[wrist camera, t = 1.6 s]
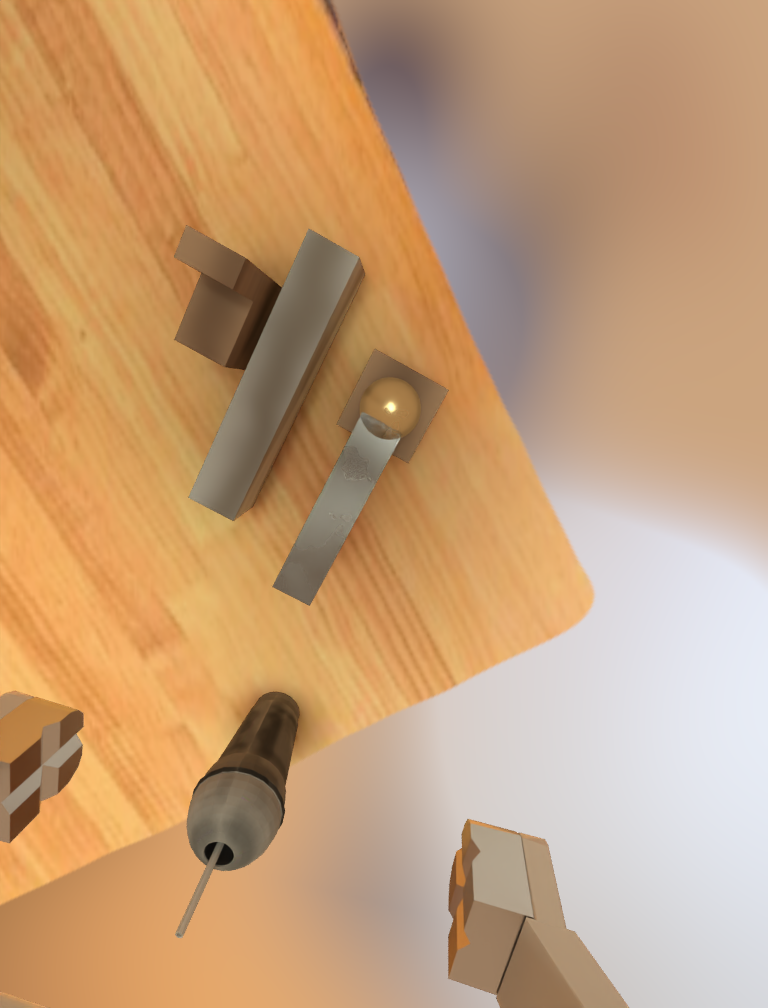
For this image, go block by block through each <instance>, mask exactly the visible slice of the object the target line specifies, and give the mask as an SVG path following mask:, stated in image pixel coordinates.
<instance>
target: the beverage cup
mask: <svg viewBox="0 0 768 1008" xmlns="http://www.w3.org/2000/svg"><path fill="white" fill-rule="evenodd" d="M298 718H299V708H298V706H297V704H296V702H295V701H294V700H293V699H292V698H291V697H290V696H288V695H286V694H284V693H280V692H270V693H267V694H265V695H263V696H262V697H261V698H259V700H258V701H257V703H256V704H255V706H254V707H253V708H252V709H251V711H250V712H249V714H248V715H247V717H246V718H245V720H244V721H243V723H242V725H241V726H240V728H239V729H238V731H237V732H236V734H235V735H234V737H233V738H232V740H231V741H230V743H229V745H228V746H227V748H226V749H225V751H224V752H223V754H222V755H221V757H220V758H219V760H218V761H217V762H216V763H215V764H214V765H213V766H212V767H211V768H210V769H209V771H208V772H207V773H206V775H205V776H204V777H203V778H202V779H200V781H199V782H198V784H197V786H196V787H195V789H194V791H193V796H192V800H191V802H190V806H189V811H188V818H187V833H188V838H189V843H190V845H191V848H192V850H193V851H194V853H195V855H196V856H197V857H198V858H199V860H201V861H202V862H203V863H204V864H205V865H207V866H206V868H205V870H204V873H203V875H202V877H201V879H200V881H199V883H198V886H197V888H196V890H195V892H194V895H193V897H192V899H191V901H190V903H189V905H188V907H187V910H186V912H185V914H184V916H183V918H182V921H181V923H180V925H179V927H178V929H177V931H176V934H175V935H176V936H177V937H178V938H182V937H183V935H184V933H185V931H186V929H187V926H188V924H189V922H190V920H191V917H192V915H193V913H194V911H195V908H196V906H197V904H198V902H199V900H200V897H201V895H202V893H203V891H204V888H205V886H206V884H207V882H208V879H209V877H210V875H211V873H212V870H213V869H217V870H221V871H231V870H236V869H239V868H242V867H245V866H247V865H249V864H250V863H251V862H253V861H254V860H256V859H257V858H258V857H259V856H261V855H262V854H263V853H264V851H265V850H266V849H267V848H268V846H269V845H270V843H271V842H272V840H273V839H274V837H275V835H276V834H277V831H278V829H279V828H280V826H281V825H282V823H283V818H284V814H285V808H284V804H285V794H286V789H285V785H286V780H287V775H288V770H289V766H290V761H291V756H292V751H293V746H294V741H295V736H296V732H297V727H298Z"/></svg>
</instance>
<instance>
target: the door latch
mask: <svg viewBox="0 0 768 1008" xmlns="http://www.w3.org/2000/svg"><path fill="white" fill-rule="evenodd" d="M174 257H175V258H177V259H178V260H180V261H182V262H184V263H185V264H187V265H189V266H190V267H192V268H194V269H196V270H197V271H199V272H201V275H200V278H199V280H198V283H197V285H196V288H195V290H194V293H193V295H192V298H191V300H190V302H189V305H188V307H187V310H186V312H185V315H184V317H183V320H182V322H181V325H180V327H179V330H178V332H177V334H176V337H175V339H174V340H176V341H178V342H179V343H181V344H183V345H185V346H187V347H189V348H191V349H192V350H194V351H196V352H198V353H200V354H202V355H203V356H205V357H207V358H209V359H211V360H213V361H215V362H216V363H218V364H220V365H222V366H224V367H228V368H236V369H243V370H245V372H244V374H243V377H242V379H241V381H240V383H239V386H238V388H237V390H236V392H235V394H234V397H233V399H232V401H231V403H230V406H229V408H228V410H227V412H226V415H225V417H224V419H223V421H222V423H221V426H220V428H219V430H218V432H217V435H216V437H215V439H214V441H213V444H212V446H211V448H210V450H209V453H208V455H207V457H206V459H205V461H204V464H203V466H202V468H201V470H200V473H199V475H198V477H197V479H196V482H195V484H194V486H193V488H192V490H191V493H190V495H189V497H188V498H190V499H192V500H194V501H196V502H198V503H200V504H201V505H203V506H205V507H207V508H209V509H211V510H213V511H215V512H217V513H219V514H221V515H223V516H225V517H226V518H228V519H230V520H232V521H234V520H235V519H237V518H238V517H240V516H241V515H242V514H244V513H245V512H246V511H248V510H249V509H250V508H252V507H253V505H254V503H255V501H256V499H257V497H258V495H259V493H260V491H261V489H262V486H263V484H264V482H265V480H266V478H267V476H268V474H269V472H270V470H271V468H272V466H273V464H274V462H275V460H276V458H277V455H278V453H279V451H280V449H281V447H282V445H283V443H284V441H285V439H286V437H287V435H288V433H289V431H290V429H291V427H292V424H293V422H294V420H295V418H296V416H297V414H298V412H299V410H300V408H301V406H302V404H303V402H304V400H305V398H306V396H307V393H308V391H309V389H310V387H311V385H312V383H313V381H314V379H315V377H316V375H317V373H318V371H319V369H320V367H321V365H322V362H323V360H324V358H325V356H326V354H327V352H328V350H329V348H330V346H331V344H332V342H333V340H334V338H335V336H336V334H337V331H338V329H339V327H340V325H341V323H342V321H343V319H344V317H345V315H346V313H347V311H348V309H349V307H350V305H351V303H352V300H353V298H354V296H355V294H356V292H357V290H358V288H359V286H360V284H361V282H362V280H363V278H364V276H365V272H364V269H363V266H362V263H361V261H360V258H359V257H358V256H356V255H354V254H353V253H351V252H349V251H347V250H346V249H344V248H342V247H340V246H339V245H337V244H335V243H333V242H332V241H330V240H328V239H326V238H324V237H323V236H321V235H319V234H317V233H316V232H314V231H312V230H310V229H308V231H307V234H306V236H305V238H304V240H303V243H302V245H301V247H300V249H299V252H298V254H297V256H296V258H295V260H294V263H293V265H292V267H291V269H290V272H289V274H288V276H287V278H286V281H285V283H284V285H283V287H282V288H281V287H280V286H279V285H278V284H277V283H275V282H274V281H273V280H272V279H271V278H269V277H268V276H267V275H266V274H264V273H263V272H262V271H261V270H260V269H258V268H257V267H256V266H255V265H254V264H252V263H251V262H250V261H249V260H248V259H246V258H245V257H243V256H241V255H239V254H238V253H236V252H234V251H232V250H230V249H229V248H227V247H225V246H223V245H221V244H220V243H218V242H216V241H214V240H212V239H211V238H209V237H207V236H205V235H204V234H202V233H200V232H198V231H196V230H195V229H193V228H191V227H189V226H187V225H186V227H185V230H184V232H183V235H182V237H181V240H180V243H179V245H178V248H177V250H176V253H175V255H174ZM388 377H393V378H398V379H401V380H404V381H405V382H407V383H409V384H410V385H411V386H412V387H413V388H414V389H415V391H416V392H417V394H418V396H419V399H420V404H421V413H420V418H419V421H418V423H417V425H416V426H415V428H414V429H413V430H412V431H411V432H410V433H409V434H407V435H406V436H404V437H402V438H400V440H399V442H398V444H397V446H396V447H395V449H394V451H393V453H392V455H394V456H396V457H398V458H399V459H401V460H403V461H405V462H407V463H409V461H410V459H411V458H412V456H413V454H414V452H415V450H416V448H417V447H418V445H419V443H420V441H421V439H422V438H423V436H424V434H425V432H426V430H427V429H428V427H429V425H430V423H431V421H432V420H433V418H434V416H435V414H436V412H437V411H438V409H439V407H440V405H441V403H442V401H443V400H444V398H445V396H446V394H447V392H448V391H449V390H448V389H446V388H445V387H443V386H441V385H439V384H437V383H436V382H434V381H432V380H430V379H428V378H427V377H425V376H423V375H421V374H419V373H418V372H416V371H414V370H412V369H410V368H409V367H407V366H405V365H403V364H401V363H400V362H398V361H396V360H394V359H392V358H391V357H389V356H387V355H385V354H383V353H382V352H380V351H378V350H376V349H374V351H373V353H372V355H371V357H370V359H369V361H368V363H367V365H366V367H365V369H364V371H363V373H362V375H361V377H360V379H359V381H358V383H357V385H356V387H355V389H354V391H353V393H352V395H351V397H350V399H349V401H348V403H347V405H346V407H345V408H344V410H343V412H342V414H341V416H340V418H339V420H338V422H337V425H339V426H340V427H342V428H344V429H346V430H348V431H350V432H351V433H352V431H353V429H354V428H355V426H356V424H357V422H358V420H359V418H360V401H361V398H362V395H363V393H364V392H365V390H366V389H367V388H368V387H369V386H370V385H371V384H372V383H373V382H375V381H377V380H379V379H382V378H388Z"/></svg>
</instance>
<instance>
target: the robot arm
mask: <svg viewBox="0 0 768 1008" xmlns="http://www.w3.org/2000/svg"><path fill="white" fill-rule="evenodd" d="M82 728H83V713H82V712H81V711H79V710H77V709H73V708H70V707H67V706H64V705H61V704H57V703H54V702H51V701H48V700H45V699H41V698H38V697H33V696H30V695H27V694H24V693H20V692H17V691H12V692H8V693H5V694H4V695H2V696H1V697H0V841H3V842H7V843H10V842H11V841H12V840H13V839H14V838H15V837H16V836H17V835H18V834H19V833H20V832H21V831H22V830H23V829H24V828H25V827H26V826H27V825H28V824H29V823H30V822H31V821H32V820H33V819H34V818H35V817H36V816H37V815H38V814H39V812H40V806H41V801H43V800H45V799H48V798H50V797H52V796H54V795H57V794H58V793H59V792H60V791H61V790H62V789H63V788H64V787H65V786H66V785H67V784H68V782H69V781H70V779H71V778H72V776H73V774H74V773H75V771H76V770H77V768H78V766H79V762H80V759H81V756H82V746H83V745H82V743H81V741H80V739H79V738H78V736H77V734H76V733H77V732H78V731H80V730H81V729H82ZM448 910H449V912H450V913H451V915H452V917H453V923H452V926H451V929H450V932H449V936H448V978H449V979H451V980H454V981H457V982H460V983H463V984H466V985H469V986H472V987H474V988H477V989H480V990H483V991H486V992H489V993H492V994H495V995H497V998H496V999H497V1001H498V1003H499V1006H500V1008H629V1007H628V1005H627V1004H626V1003H625V1001H624V1000H623V998H622V997H621V996H620V994H619V993H618V991H617V990H616V989H615V987H614V986H613V984H612V983H611V981H610V980H609V979H608V977H607V976H606V974H605V973H604V972H603V970H602V969H601V967H600V966H599V965H598V963H597V962H596V961H595V959H594V958H593V956H592V955H591V954H590V952H589V951H588V950H587V948H586V947H585V945H584V944H583V942H582V941H581V940H580V938H579V937H578V936H577V934H576V933H575V932H574V931H571V930H568V929H566V925H565V920H564V916H563V911H562V906H561V902H560V897H559V893H558V888H557V883H556V879H555V874H554V870H553V865H552V861H551V856H550V852H549V847H548V844H547V842H546V841H545V839H541V838H538V837H534V836H530V835H526V834H523V833H517V832H515V831H511V830H508V829H504V828H500V827H496V826H493V825H489V824H485V823H482V822H478V821H474V820H470V819H467V821H466V823H465V825H464V829H463V831H462V848H461V849H460V850H458V851H457V852H456V855H455V858H454V862H453V865H452V871H451V877H450V884H449V909H448ZM0 1008H48V1007H45V1006H42V1005H39V1004H36V1003H33V1002H30V1001H27V1000H24V999H21V998H18V997H15V996H12V995H9V994H6V993H3V992H0Z"/></svg>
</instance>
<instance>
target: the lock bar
mask: <svg viewBox="0 0 768 1008" xmlns="http://www.w3.org/2000/svg"><path fill="white" fill-rule="evenodd" d="M420 413H421V404H420V399H419V396H418V394H417V392H416V391H415V389H414V388H413V387H412V386H411V385H410V384H409V383H407V382H405V381H404V380H401V379H398V378H393V377H388V378H382V379H379V380H377V381H375V382H373V383H372V384H371V385H370V386H369V387H368V388H367V389H366V390H365V392H364V393H363V395H362V398H361V401H360V418H359V420H358V422H357V424H356V426H355V428H354V429H353V431H352V433H351V435H350V437H349V439H348V441H347V443H346V445H345V447H344V449H343V451H342V453H341V455H340V457H339V459H338V460H337V462H336V464H335V466H334V468H333V470H332V472H331V474H330V476H329V478H328V480H327V482H326V484H325V486H324V488H323V490H322V492H321V493H320V495H319V497H318V499H317V501H316V503H315V505H314V507H313V509H312V511H311V513H310V515H309V517H308V519H307V521H306V523H305V524H304V526H303V528H302V530H301V532H300V534H299V536H298V538H297V540H296V542H295V544H294V546H293V548H292V550H291V552H290V554H289V555H288V557H287V559H286V561H285V563H284V565H283V567H282V569H281V571H280V573H279V575H278V577H277V579H276V581H275V583H274V585H273V586H272V587H274V588H276V589H278V590H280V591H282V592H284V593H286V594H288V595H290V596H292V597H293V598H295V599H297V600H299V601H301V602H303V603H305V604H307V605H309V606H310V604H311V602H312V601H313V599H314V597H315V595H316V593H317V591H318V589H319V588H320V586H321V584H322V582H323V580H324V578H325V577H326V575H327V573H328V571H329V569H330V567H331V566H332V564H333V562H334V560H335V558H336V556H337V554H338V553H339V551H340V549H341V547H342V545H343V543H344V542H345V540H346V538H347V536H348V534H349V532H350V530H351V529H352V527H353V525H354V523H355V521H356V519H357V518H358V516H359V514H360V512H361V510H362V508H363V506H364V505H365V503H366V501H367V499H368V497H369V495H370V494H371V492H372V490H373V488H374V486H375V484H376V483H377V481H378V479H379V477H380V475H381V473H382V471H383V470H384V468H385V466H386V464H387V462H388V460H389V459H390V457H391V455H392V453H393V451H394V449H395V447H396V446H397V444H398V442H399V440H400V438H402V437H404V436H406V435H407V434H409V433H410V432H411V431H412V430H413V429H414V428H415V426H416V425H417V423H418V421H419V418H420Z"/></svg>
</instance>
